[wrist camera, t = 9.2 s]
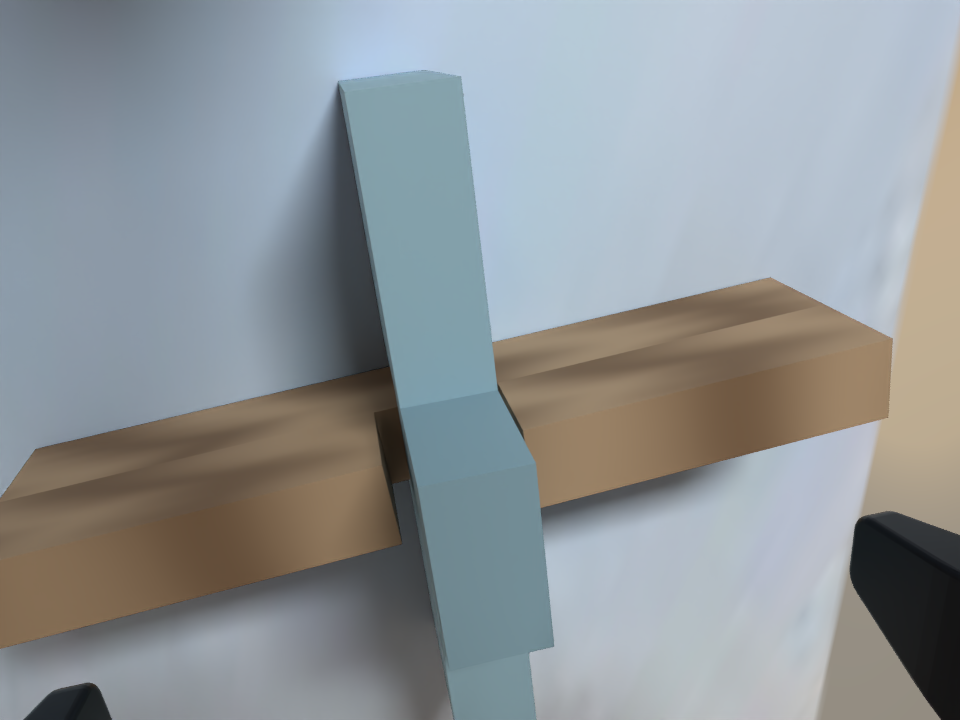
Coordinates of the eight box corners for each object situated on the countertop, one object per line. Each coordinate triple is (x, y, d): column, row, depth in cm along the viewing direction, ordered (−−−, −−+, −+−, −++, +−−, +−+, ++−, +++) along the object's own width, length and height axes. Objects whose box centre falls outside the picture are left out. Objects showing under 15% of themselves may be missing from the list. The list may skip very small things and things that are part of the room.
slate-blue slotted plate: (497, 611, 24) (574, 856, 17) (434, 625, 24) (486, 880, 16) (424, 70, 18) (498, 83, 10) (337, 81, 17) (351, 103, 10)
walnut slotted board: (66, 514, 20) (-9, 651, 15) (35, 449, 19) (-54, 573, 15) (771, 342, 22) (888, 417, 18) (770, 277, 21) (892, 338, 17)
